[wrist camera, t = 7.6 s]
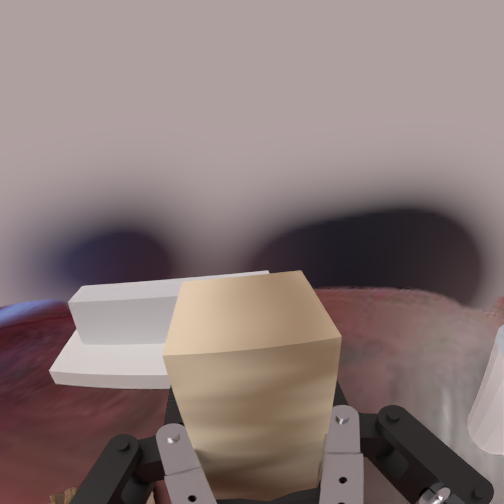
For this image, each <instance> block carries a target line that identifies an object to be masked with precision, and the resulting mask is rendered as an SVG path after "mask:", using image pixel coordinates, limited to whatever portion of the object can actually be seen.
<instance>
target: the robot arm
mask: <svg viewBox="0 0 504 504" xmlns="http://www.w3.org/2000/svg"><path fill="white" fill-rule="evenodd" d="M363 457H368V459H369V460H370V461H371V462H372V463H373V464H374V465H375V466H376V467H377V468H378V470H379V471H380V472H381V473H382V474H383V475H384V476H385V477H386V478H387V479H388V480H389V481H390V483H391V484H392V485H393V486H394V487H395V488H396V489H397V490H398V491H399V492H400V493H401V494H402V495H403V496H404V497H405V498H406V499H407V500H408V501H409V502H410V503H411V504H489V503H490V502H491V500H492V498H493V495H494V489H493V486H492V484H491V483H490V482H489V481H488V480H487V479H485V478H484V477H483V476H482V475H481V474H479V473H478V472H477V471H476V470H475V469H474V468H472V467H471V466H470V465H469V464H468V463H466V462H465V461H464V460H463V459H462V458H461V457H459V456H458V455H457V454H456V453H455V452H454V451H452V450H451V449H450V448H449V447H448V446H447V445H445V444H444V443H443V442H442V441H441V440H440V439H438V438H437V437H436V436H435V435H434V434H433V433H431V432H430V431H429V430H428V429H427V428H426V427H425V426H423V425H422V424H421V423H420V422H419V421H418V420H417V419H415V418H414V417H413V416H412V415H411V414H410V413H408V412H407V411H406V410H405V409H404V408H402V407H400V406H397V405H389V406H386V407H384V408H382V409H381V410H380V411H379V413H378V414H363V413H359V412H357V411H356V410H355V409H354V408H353V407H351V406H349V405H348V403H347V401H346V399H345V397H344V394H343V392H342V390H341V388H340V386H339V384H338V382H337V380H336V387H335V394H334V400H333V406H332V412H331V418H330V424H329V429H328V433H327V434H325V436H324V442H323V454H322V461H320V462H319V467H318V476H317V484H316V488H312V489H307V490H302V491H296V492H293V493H290V494H287V495H285V496H282V497H279V498H277V499H274V500H271V501H262V500H252V499H243V498H237V499H217V500H216V499H215V497H214V494H213V492H212V490H211V487H210V485H209V483H208V480H207V478H206V476H205V474H204V471H203V469H202V466H201V464H200V461H199V459H198V456H197V453H196V451H195V449H193V447H192V444H191V441H190V439H189V436H188V433H187V431H186V428H185V425H184V422H183V420H182V417H181V414H180V411H179V408H178V405H177V402H176V399H175V396H174V393H173V390H172V387H171V385H170V391H169V397H168V403H167V409H166V415H165V422H164V426H163V427H161V428H160V429H159V430H158V432H157V434H156V435H155V436H152V437H149V438H145V439H141V440H136V438H135V437H133V436H131V435H128V434H121V435H117V436H115V437H113V438H112V439H111V440H110V441H109V443H108V444H107V446H106V447H105V449H104V450H103V452H102V453H101V455H100V457H99V458H98V460H97V461H96V463H95V464H94V466H93V467H92V469H91V470H90V472H89V473H88V475H87V476H86V478H85V479H84V481H83V483H82V484H81V486H80V487H79V489H78V490H77V492H76V493H75V495H74V496H73V498H72V500H71V501H70V503H69V504H146V503H147V501H148V499H149V497H150V495H151V492H152V490H153V488H154V486H155V484H156V482H157V481H160V480H164V479H165V482H166V486H167V489H168V492H169V496H170V499H171V502H172V504H363V487H364V468H363Z"/></svg>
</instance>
